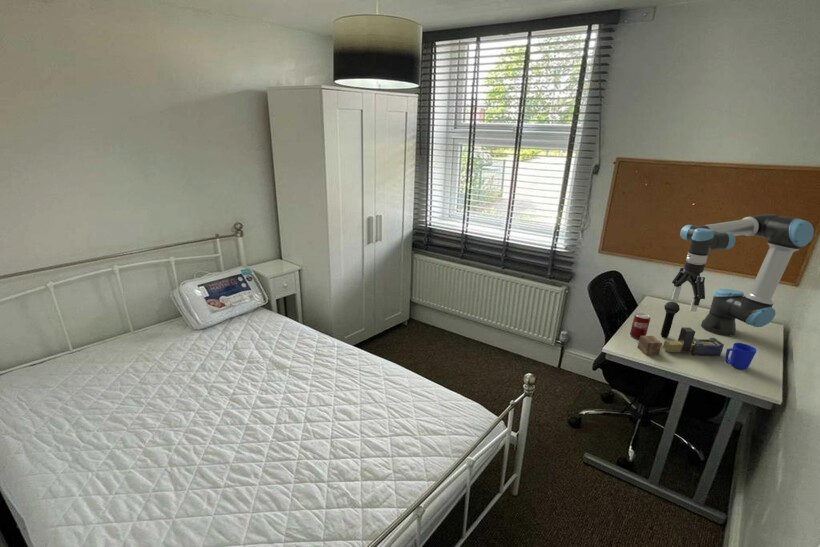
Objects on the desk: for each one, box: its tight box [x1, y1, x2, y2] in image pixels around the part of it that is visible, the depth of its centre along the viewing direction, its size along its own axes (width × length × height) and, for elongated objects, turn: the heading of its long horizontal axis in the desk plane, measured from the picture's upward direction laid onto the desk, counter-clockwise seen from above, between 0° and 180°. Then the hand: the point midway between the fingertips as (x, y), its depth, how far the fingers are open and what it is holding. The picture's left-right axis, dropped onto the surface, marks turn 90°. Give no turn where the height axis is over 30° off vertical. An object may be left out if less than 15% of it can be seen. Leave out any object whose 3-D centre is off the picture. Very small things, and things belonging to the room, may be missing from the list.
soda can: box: [629, 312, 651, 340], centre depth 205 cm, size 7×7×12 cm
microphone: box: [660, 301, 681, 339], centre depth 204 cm, size 7×7×20 cm
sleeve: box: [688, 337, 725, 357], centre depth 193 cm, size 13×7×6 cm, turn 91°
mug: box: [724, 342, 757, 370], centre depth 181 cm, size 8×12×10 cm
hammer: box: [662, 327, 717, 353], centre depth 191 cm, size 24×4×11 cm, turn 91°
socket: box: [637, 335, 663, 356], centre depth 192 cm, size 6×7×7 cm
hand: (683, 305), depth 189 cm, fingers open, 13 cm apart
